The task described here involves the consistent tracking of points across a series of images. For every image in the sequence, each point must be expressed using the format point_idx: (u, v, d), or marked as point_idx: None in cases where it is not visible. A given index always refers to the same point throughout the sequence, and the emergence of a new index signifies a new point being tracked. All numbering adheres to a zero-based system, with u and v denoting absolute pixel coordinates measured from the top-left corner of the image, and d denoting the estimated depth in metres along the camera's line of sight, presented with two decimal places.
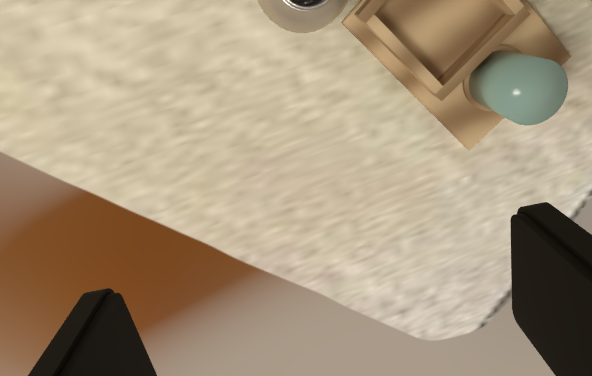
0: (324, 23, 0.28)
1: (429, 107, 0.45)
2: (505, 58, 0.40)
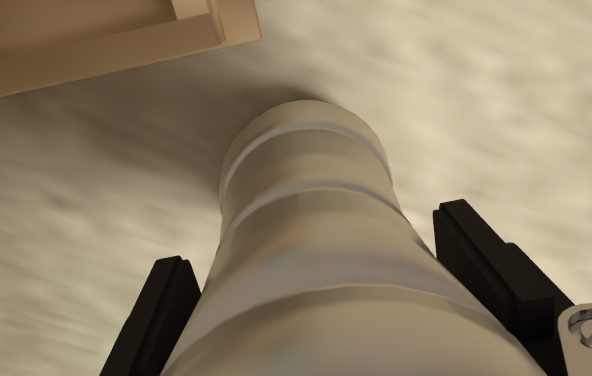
0: None
1: None
2: None
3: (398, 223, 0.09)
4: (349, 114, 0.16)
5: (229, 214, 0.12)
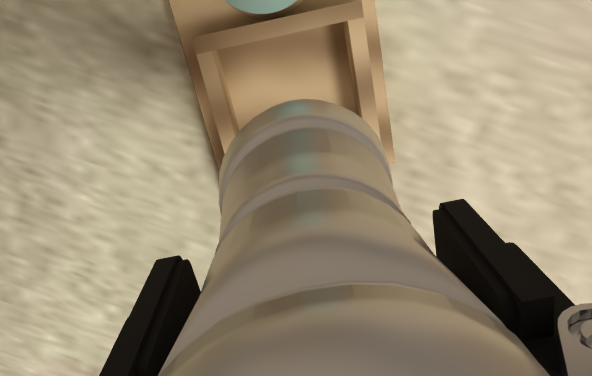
0: None
1: None
2: None
3: (398, 221, 0.09)
4: (349, 113, 0.16)
5: (228, 213, 0.12)
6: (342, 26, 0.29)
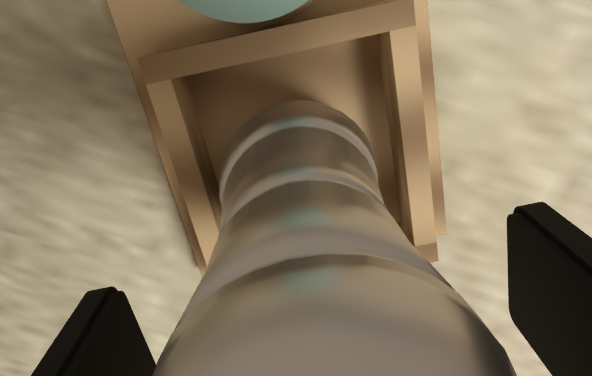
0: (380, 342, 0.06)
1: None
2: None
3: (374, 208, 0.10)
4: (337, 113, 0.17)
5: (228, 204, 0.13)
6: (376, 38, 0.19)
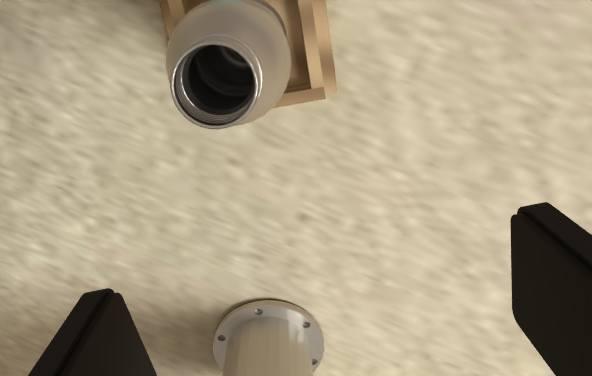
0: (235, 4, 0.21)
1: None
2: None
3: None
4: (264, 1, 0.32)
5: None
6: None
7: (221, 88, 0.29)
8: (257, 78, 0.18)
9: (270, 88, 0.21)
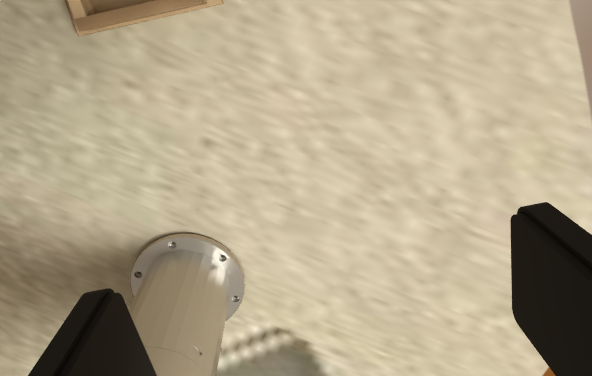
0: None
1: None
2: None
3: None
4: None
5: None
6: None
7: None
8: None
9: None
